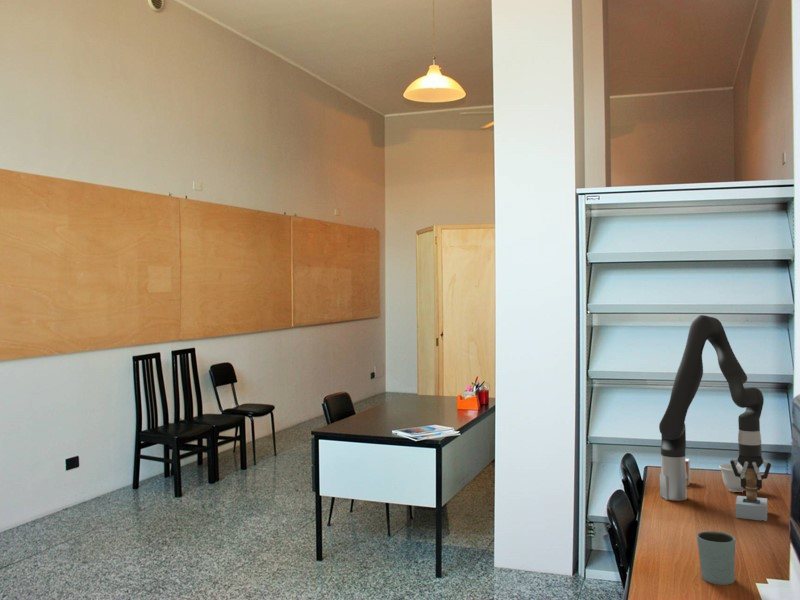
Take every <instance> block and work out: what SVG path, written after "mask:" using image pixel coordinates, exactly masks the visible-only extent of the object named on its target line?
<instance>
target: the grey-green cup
mask: <svg viewBox="0 0 800 600" xmlns="http://www.w3.org/2000/svg"><path fill="white" fill-rule="evenodd" d="M696 541H697V546H698V555H699V557H698V558H699V565H700V573H701V574H700V575H701V578H702V580H704V581H705V582H708V583H710V584H713V585H720V586H721V585H722V586H726V585H732V584H734V583H735V579H736V577H735V575H736V573H735V566H736V565H735V564H736V562H735V559H736V558H735V557H736V537H735V536H734V535H732V534H730V533H726V532H723V531H712V530H710V531H709V530H708V531H701V532H698V533H697V534H696Z"/></svg>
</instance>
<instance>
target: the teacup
mask: <svg viewBox="0 0 800 600" xmlns="http://www.w3.org/2000/svg"><path fill="white" fill-rule="evenodd" d="M718 467H719V469H720V470H721V474H722V480H723V485H724V486H725V487H726V488H728V490H729V491H728V492H730V491H732V492H731V493H734V492H742V493H744V492H743V491H744V489H743V487H741V479H740V477H736V476H735V474H734V471H733V469H732V466H731V463H722V464H720V465H719V466H718ZM736 467H737V470H738V473H741V472H742V468H743V467H742V466H741V465H740V463H737V465H736ZM744 478H745V476H744Z"/></svg>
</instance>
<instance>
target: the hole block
mask: <svg viewBox="0 0 800 600" xmlns="http://www.w3.org/2000/svg"><path fill="white" fill-rule="evenodd" d="M768 506H769V505H768V497H767V498H766V497H757V502H750V501H747V497H746V496H745V495H737V496H736V499H735V518H736V519H744V520H755V521H762V520H764V521H763V522H767V521H768V515H767V514H768V513H769V512H768V511H769V510H768Z"/></svg>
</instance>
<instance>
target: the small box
mask: <svg viewBox="0 0 800 600" xmlns="http://www.w3.org/2000/svg"><path fill="white" fill-rule="evenodd" d="M685 459H686V486H688V485H689V486H690V484H691V469H690V467H691V465H690V463H691V462H690V461H691V459H690V458H685Z"/></svg>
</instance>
